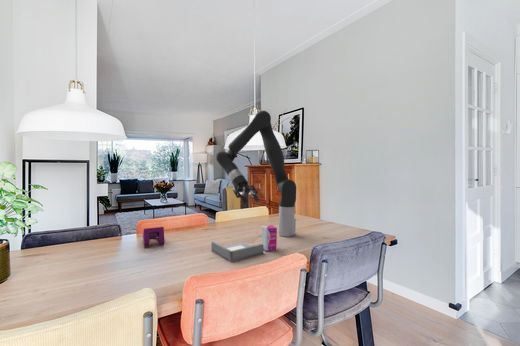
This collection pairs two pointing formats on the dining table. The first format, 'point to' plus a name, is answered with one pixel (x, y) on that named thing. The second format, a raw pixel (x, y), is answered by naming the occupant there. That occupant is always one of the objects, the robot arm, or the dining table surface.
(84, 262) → the dining table surface
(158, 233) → the mounting bracket
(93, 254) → the dining table surface
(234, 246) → the corner tray
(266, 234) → the supplement box
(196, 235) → the dining table surface
